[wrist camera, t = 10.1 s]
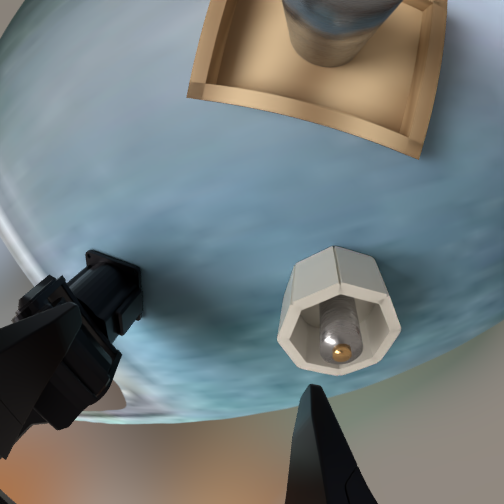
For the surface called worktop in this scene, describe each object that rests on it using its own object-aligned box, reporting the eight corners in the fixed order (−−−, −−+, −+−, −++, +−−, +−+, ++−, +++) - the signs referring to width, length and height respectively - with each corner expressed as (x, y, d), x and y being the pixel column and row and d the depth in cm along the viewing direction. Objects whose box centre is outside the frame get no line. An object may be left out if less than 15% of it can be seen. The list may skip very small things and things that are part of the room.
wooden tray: (203, 100, 17) (186, 97, 14) (240, -38, 11) (230, -56, 9) (405, 154, 16) (421, 161, 14) (433, 13, 11) (449, 1, 8)
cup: (275, 318, 24) (268, 360, 20) (303, 236, 20) (301, 271, 16) (359, 338, 24) (365, 380, 19) (399, 265, 20) (418, 302, 15)
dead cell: (314, 309, 22) (313, 365, 17) (326, 281, 21) (330, 335, 15) (345, 317, 22) (352, 373, 16) (359, 289, 20) (371, 344, 15)
